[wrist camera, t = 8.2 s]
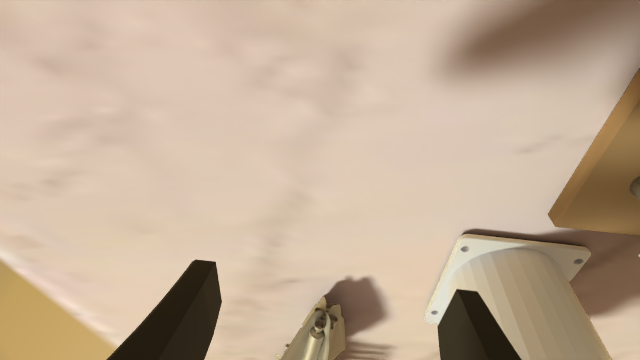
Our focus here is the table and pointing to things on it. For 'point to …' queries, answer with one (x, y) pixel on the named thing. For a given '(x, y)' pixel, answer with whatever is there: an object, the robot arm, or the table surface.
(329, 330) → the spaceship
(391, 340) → the table surface
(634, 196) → the peg base
